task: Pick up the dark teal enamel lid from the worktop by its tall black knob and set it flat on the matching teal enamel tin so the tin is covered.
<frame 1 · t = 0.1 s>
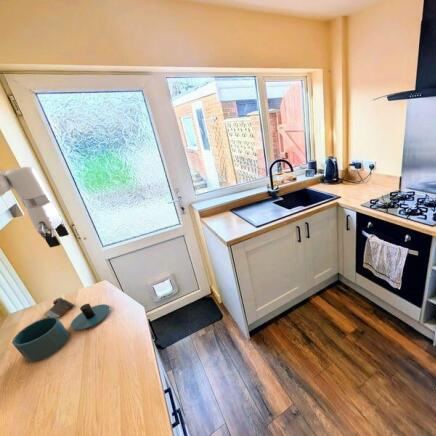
hand: (60, 240, 98), 33 cm above the countertop, tool pointing down, fingers open, 9 cm apart
tin: (48, 346, 92), on the countertop
lid: (91, 317, 102), point 1 cm above the countertop
chocolate cake: (57, 312, 109), on the countertop
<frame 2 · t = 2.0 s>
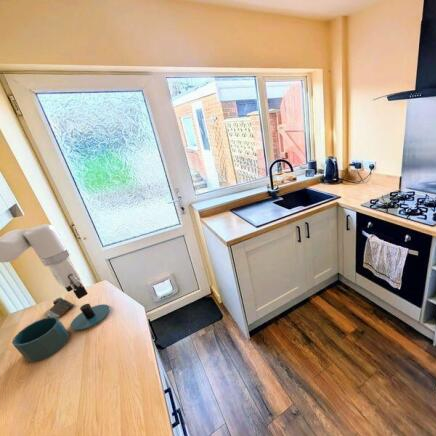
hand: (77, 292, 97), 14 cm above the countertop, tool pointing down, fingers open, 9 cm apart
nothing on the countertop moved.
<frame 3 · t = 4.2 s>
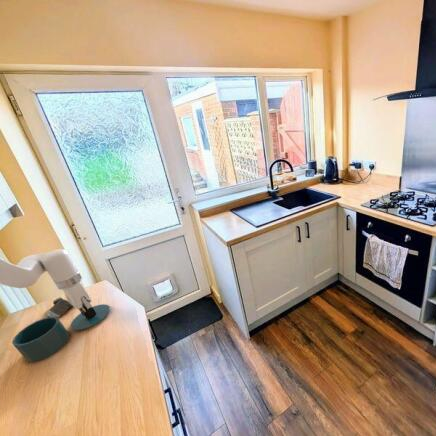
hand: (89, 314, 102), 2 cm above the countertop, tool pointing down, fingers closed on lid, 3 cm apart
lid: (91, 317, 102), point 1 cm above the countertop, touching gripper
everything else where it was.
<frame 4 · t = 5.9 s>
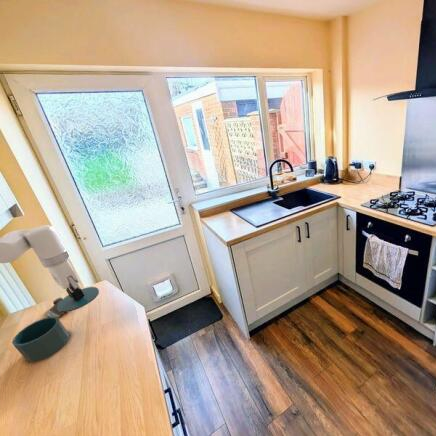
hand: (77, 296, 97), 12 cm above the countertop, tool pointing down, fingers closed on lid, 3 cm apart
lid: (79, 299, 98), point 11 cm above the countertop, touching gripper
everything else where it was.
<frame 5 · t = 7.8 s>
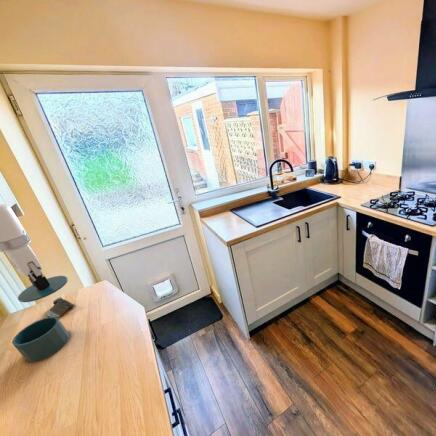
hand: (42, 285, 88), 23 cm above the countertop, tool pointing down, fingers closed on lid, 3 cm apart
lid: (44, 288, 89), point 21 cm above the countertop, touching gripper
everything else where it was.
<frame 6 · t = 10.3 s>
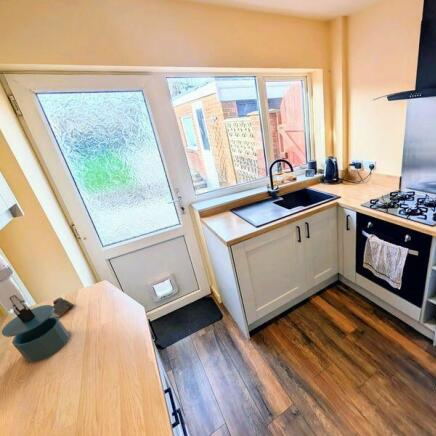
hand: (27, 317, 86), 15 cm above the countertop, tool pointing down, fingers closed on lid, 3 cm apart
lid: (29, 320, 86), point 13 cm above the countertop, touching gripper
everything else where it was.
when the fingers open (10 cm above the countertop, at t = 11.8 s): lid stays where it is, resting on tin.
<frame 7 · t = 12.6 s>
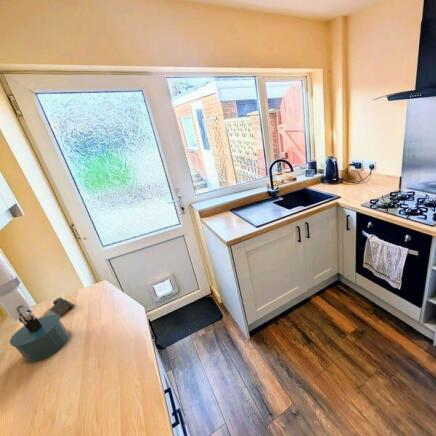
hand: (31, 324, 87), 11 cm above the countertop, tool pointing down, fingers open, 9 cm apart
lid: (36, 330, 88), point 8 cm above the countertop, touching tin
everything else where it was.
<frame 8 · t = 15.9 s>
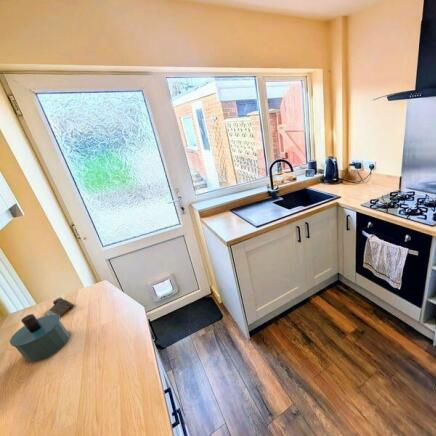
nothing on the countertop moved.
at the end: lid 0.1 cm off-centre on the tin, point 8.5 cm above the tin's base; lid tilted 0°; the gripper is holding nothing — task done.
